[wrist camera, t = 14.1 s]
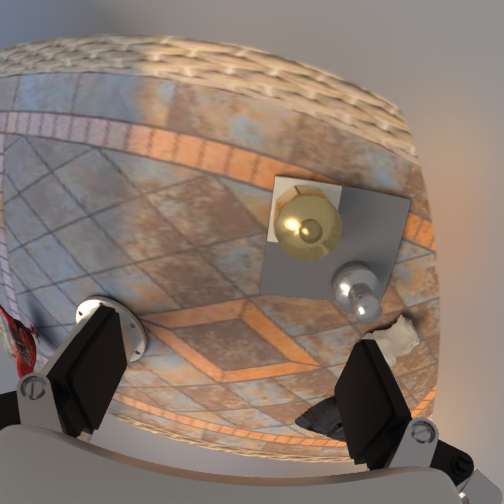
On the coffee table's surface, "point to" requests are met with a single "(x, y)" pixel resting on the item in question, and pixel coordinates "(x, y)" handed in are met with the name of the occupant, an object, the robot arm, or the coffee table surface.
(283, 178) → the pad
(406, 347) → the beige bone fragment
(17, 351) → the decorative bird figurine
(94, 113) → the coffee table surface
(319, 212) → the gold lidded jar
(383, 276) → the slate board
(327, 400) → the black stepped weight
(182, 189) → the coffee table surface
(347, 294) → the grey knob
